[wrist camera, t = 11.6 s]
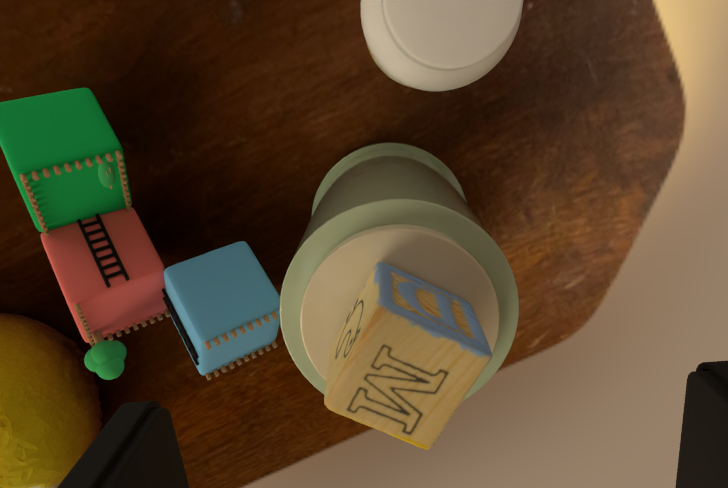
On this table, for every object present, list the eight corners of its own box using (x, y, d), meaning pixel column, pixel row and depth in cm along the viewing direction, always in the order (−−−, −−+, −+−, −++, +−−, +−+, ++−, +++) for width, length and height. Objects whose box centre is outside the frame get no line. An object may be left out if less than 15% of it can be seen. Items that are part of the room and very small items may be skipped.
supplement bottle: (475, -52, 23) (543, -140, 14) (489, 76, 24) (559, 74, 15) (354, -26, 23) (340, -95, 14) (375, 98, 25) (376, 110, 16)
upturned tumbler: (463, 134, 25) (535, 179, 14) (469, 284, 28) (535, 429, 16) (302, 149, 26) (244, 207, 14) (322, 296, 28) (285, 447, 17)
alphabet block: (474, 303, 15) (498, 357, 12) (421, 387, 16) (431, 457, 13) (378, 256, 15) (378, 301, 12) (329, 346, 15) (319, 408, 13)
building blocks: (182, 179, 31) (280, 346, 26) (28, 223, 27) (111, 429, 22) (176, 67, 25) (302, 262, 20) (-26, 104, 21) (74, 355, 16)
